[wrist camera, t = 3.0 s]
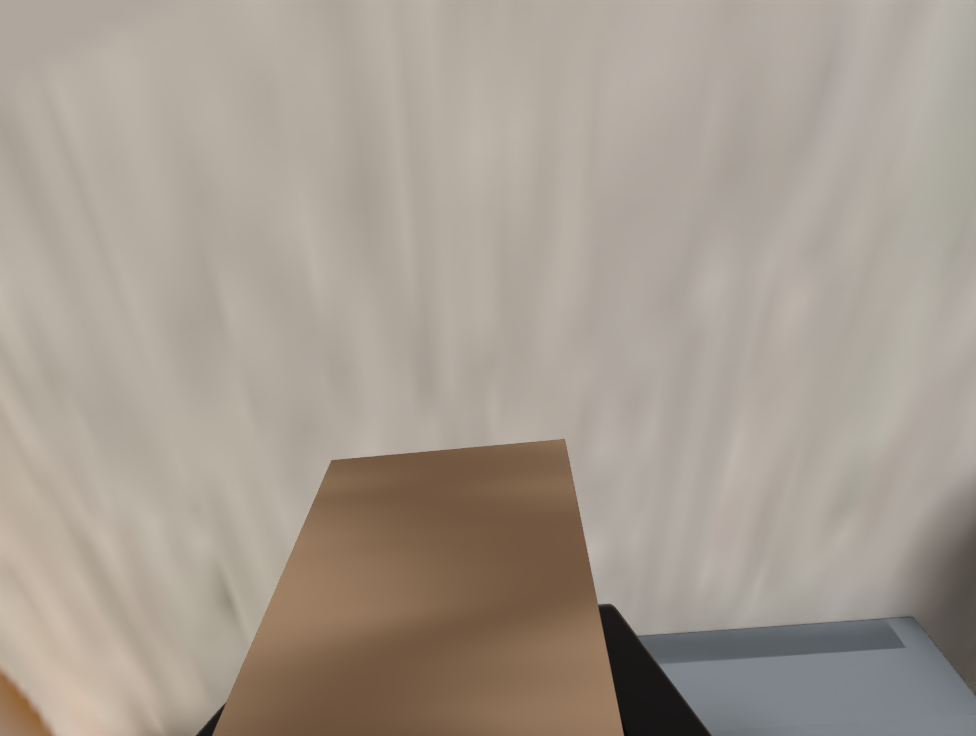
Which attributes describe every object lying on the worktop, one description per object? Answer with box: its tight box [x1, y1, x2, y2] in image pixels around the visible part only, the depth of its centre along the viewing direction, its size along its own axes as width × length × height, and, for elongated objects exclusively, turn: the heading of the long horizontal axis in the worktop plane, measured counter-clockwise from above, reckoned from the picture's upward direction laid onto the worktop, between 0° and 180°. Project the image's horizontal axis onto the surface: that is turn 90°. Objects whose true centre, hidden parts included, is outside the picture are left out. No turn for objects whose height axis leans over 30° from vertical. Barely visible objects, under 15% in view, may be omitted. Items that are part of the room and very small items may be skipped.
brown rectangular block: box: [212, 439, 624, 736], centre depth 8 cm, size 4×4×7 cm
